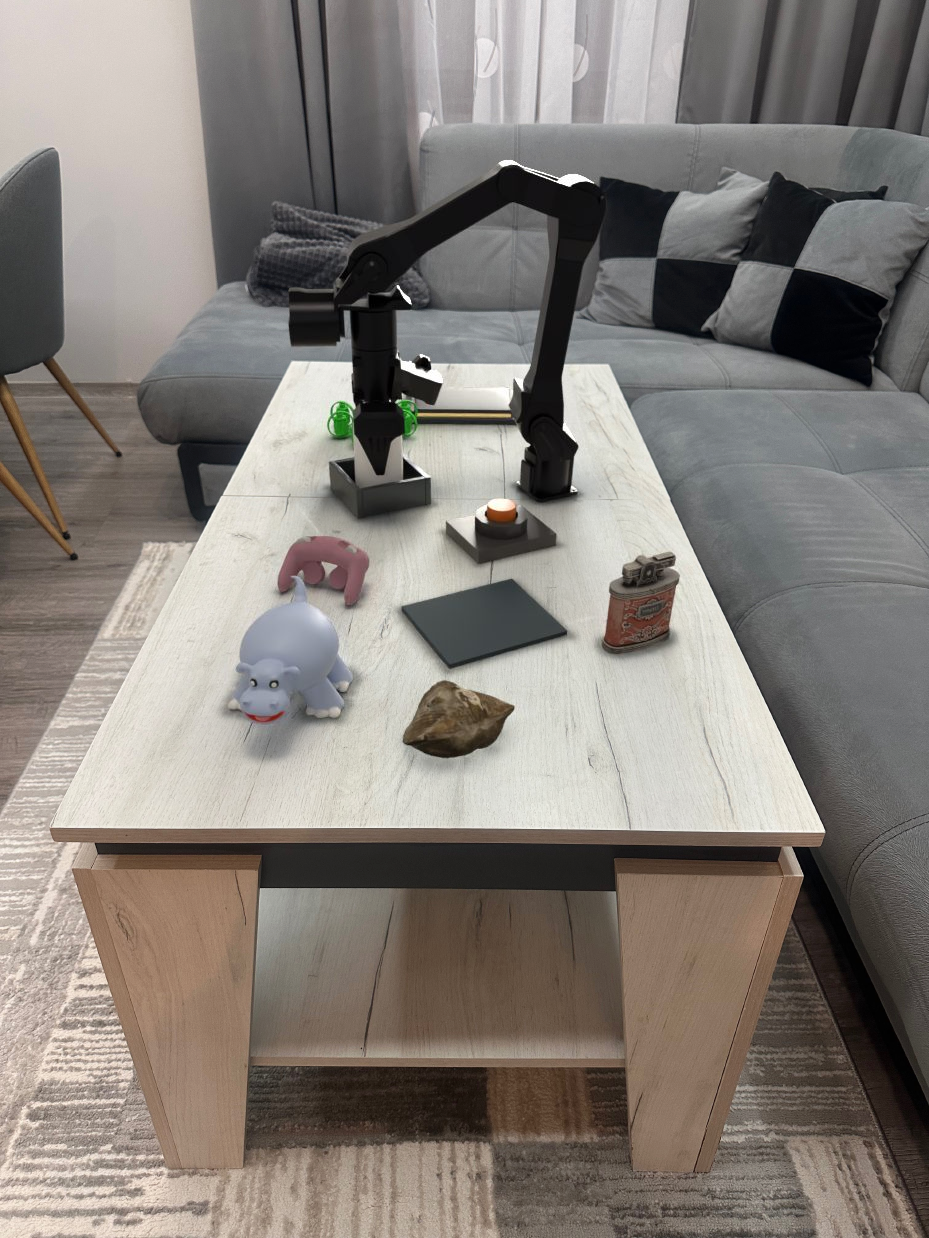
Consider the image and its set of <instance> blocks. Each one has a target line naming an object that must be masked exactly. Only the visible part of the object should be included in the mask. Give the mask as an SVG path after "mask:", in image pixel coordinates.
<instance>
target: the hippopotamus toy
mask: <svg viewBox="0 0 929 1238" xmlns="http://www.w3.org/2000/svg"><path fill="white" fill-rule="evenodd" d="M291 578H294V579H295V581H296V586H295V591H294V596H293V597H294V599H293V601H289V602H283V603H280V604H277V605H275V606H274V607H272V608H270V609H268V610H266V611H265V612H263V613H261V614H260V615H259V616H258V617H257V618H255V620H254V621H253V622H252V623H251V624H250V625H249V626H248V628H247V630H246V631H245V632H244V635H243V637H242V640H241V643H240V647H239V663H237V664H236V666H235V671H236V672H237V673H238V674H242V673H243V675H242V677H241V679H240V681H239V683H238V684H237V686H236V688H235V690H234V692H233V694H232V696H231V701H229V702H228V704H227V708H228V709H229V710H239V711H241V712H242V715H243V717H244V719H245V720H247V721H248V722H250V723H252V724H255V725H259V726H272V725H275V724H277V723H280V722H281V721H283V720H284V719H285V718H286V716H287V715H288V714H289V712H290V707H291V701H290V699H291V697H292V693H298V695H299V696H300V697H301V698H302V700H303V701H304V702H305V704H306V706H307V707H306V709H305V713H306V715H307V716H315V717H316V718H319V719H323V718H328V717H330V718H334V719H335V718H336V719H337V718H338V717H339V716H341V710H343V708H344V706H345V701H344V699H343V697H342V696H341V695H340V694H339V692H341V693H344V692H347V691H348V689H349V686H350V684H351V683H352V682H353V679H354V675H353V673H352V672H351V670H350V669H349V668H348V666H347V665H346V663H345V662H344V660H343V658H341V655H339V650H340V648H339V647H340V640H339V634H338V632H337V629H336V626H335V625H334V624H333V622H332V621H331V620H330V618H329V617H328V616H327V615H326V614H325V613H324V612H322V611H321V609H318V607H316V606H314V605H312V604H310V603H308V593H307V588H306V584H305V583H304V581H303V579H302V578H301V577H299V575H298V576H291ZM338 691H339V692H338Z"/></svg>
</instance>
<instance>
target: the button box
mask: <svg viewBox="0 0 929 1238" xmlns="http://www.w3.org/2000/svg"><path fill="white" fill-rule="evenodd" d="M445 533H446V534H447V536H449V537H450V538H451V539H452V540H453V541H454V542H455V543H456V544H457V545H458V546H459V548H461V549H462V550H463V551H465V553H466V554H467V555H468V556H469V557H471V559H472V560H473V561H474V562H475V563H477V564H479V565H481V564H483V563H488V562H492V561H497V560H500V559H501V560H502V559H505V558H509V557H513V556H517V555H522V554H526V553H531V552H534V551H539V550H542V549H546V548H551V547H555V546H556V545H557V536H558V533H557V532H555V531H554V530H553V529H552V528H550V527H549V526H548V525H547V524H545V522H543V521H542V520H541V519H540V518H538V517H537V516H536V515H534V514H533V513H531V512H530V511H529V510H528V509H526V508H525V507H524V506H523V505H522V504H518V505H516V518H515V520H512V521H508V522H496V521H493V520H490V519H488V518H487V504H483V505H481V506H480V507H478V508H477V509H476V510H475V512H474V514H472V515H467V516H462V517H459V518H453V519H448V520H445Z"/></svg>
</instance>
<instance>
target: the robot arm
mask: <svg viewBox="0 0 929 1238" xmlns="http://www.w3.org/2000/svg"><path fill="white" fill-rule="evenodd" d="M513 203H514V204H518V205H520V206H523V207H525V208H528V209H531V210H533V211H536V212H538V213H541V214H543V215H545V216H546V230H547V240H548V243H547V244H548V264H547V269H546V275H545V279H544V285H543V291H542V298H541V302H540V303H541V304H540V308H539V315H538V320H537V321H538V322H537V325H536V326H537V327H536V332H535V339H534V344H533V349H532V355H531V361H530V366H529V368H528V371H527V373H526V375H524V378H523V379H521V378H517V377H514V378H513V380H512V389H513V396H512V399H511V401H510V403H509V404H508V406H509V408H510V410H511V412H512V414H513V418H514V420H515V422H516V424H515V425H516V426H517V429H518V431H519V433H520V436H521V437H522V438H523V440H524V441H525V442H526V443H527V444H529V445H528V446H525V447H524V450H523V451H524V452H523V458H522V459H521V461H520V475H519V480H516V486H517V487H519V488H520V489H521V490H522V491H524V492H525V493H526V494H528V495H529V496H530V497H531V498H533V499H534V500H535V501H537V502H547V501H551V500H556V499H560V498H564V497H570V496H575V495H577V494H578V491H579V490H578V489H577V488H576V487H574V486H573V474H574V463H575V456H576V455H577V452H578V450H579V444H578V442H577V441H576V439H575V437H574V436H573V434H572V431H570V429H569V427H568V426H567V424H566V422H565V419H564V418H565V401H564V399H565V398H564V389H563V375H564V374H563V373H564V368H565V363H566V357H567V353H568V347H569V343H570V342H569V341H570V337H571V333H572V332H571V331H572V328H573V327H572V326H573V321H574V316H575V312H576V306H577V302H578V301H577V300H578V295H579V290H580V285H581V280H582V276H583V275H582V274H583V269H584V265H585V263H586V260H587V259H588V257H589V256H590V253H591V252H592V250H593V248H594V246H595V244H596V243H597V241H598V238H599V235H600V233H601V229H602V227H603V224H604V221H605V219H606V216H607V213H608V201H607V197H606V195H605V193H604V191H603V189H602V188H601V187H600V186H598V184H596V183H595V182H593V181H591V180H590V179H588V178H587V177H584V176H582V175H579V174H576V173H574V174H567V175H564V176H562V177H560V178H559V177H557V176H553V175H551V174H547V173H545V172H542V171H539V170H535V169H532V168H529V167H524V166H522V165H520V164H519V163H517V162H516V161H514V160H507V159H506V160H502V161H500V162H498V163H497V164H495V166H494V167H493V168H492V169H490V170H489V171H487V172H486V173H484V174H483V175H480V176H478V178H476V179H474V180H472V181H471V182H469V183H467V184H466V185H463V186H462V187H461V188H458V189H457V190H456V191H454V192H452V193H450V194H448V195H447V196H446V197H444V198H442V199H440V200H439V201H437V202H436V203H434V204H431V205H429V206H428V207H427V208H425V209H423V210H422V211H421V212H419V213H417V214H415V215H413V216H412V217H410V218H408V219H405V220H402V221H399V222H395V223H390V224H387V225H383V226H381V227H378V228H375V229H373V230H369V231H367V232H365V233H362V234H360V235H358V236H356V237H355V238H354V239H353V240H352V241H351V242H350V244H349V245H348V249H347V253H346V263H347V264H346V265H345V266H344V268H343V270H342V271H341V272H340V275H339V276H338V277H337V278H336V279H335V282H334V284H333V288H303V287H290V288H289V289H288V311H289V312H288V313H289V317H288V321H287V322H288V323H287V324H288V325H287V326H288V335H289V342H290V348H320V347H338V343H340V342H341V339H345V338H346V325H345V324H346V322H345V311H346V312H349V326H350V327H349V328H350V345H351V362H352V363H351V364H352V365H351V366H352V373H351V374H350V377H351V378H350V379H351V394H352V401H353V404H354V406H356V407H355V408H353V409H354V410H353V414H352V417H353V422H354V435H355V436H356V437H357V438H358V440H359V442H360V444H361V446H362V448H363V450H364V452H365V454H366V456H367V458H368V460H369V462H370V464H371V466H372V468H373V470H374V472H375V474H376V475H384V474H385V469H386V465H387V460H388V455H389V450H390V446H391V442H392V441H393V440H394V439H395V438H397V437H400V436H401V435H402V434H404V433H405V418H404V413H403V409H402V408H401V407H400V406H399V405H400V404H399V405H398V404H397V401H402V400H403V395H404V396H405V397H406V396H409V397H412V398H415V399H418V400H421V401H424V402H425V403H426V404H428V405H435V404H436V401H437V398H438V395H439V393H440V390H441V387H443V384H444V380H443V377H442V374H441V373H440V372H438V369H432V361H431V359H430V357H429V356H426V355H424V354H418V355H417V356H416V357H415V358H414V359H412V360H407V361H405V360H402V359H401V357H400V350H399V349H398V324H397V323H398V321H397V316H398V315H397V311H410V310H412V308H413V305H412V301H411V298H410V297H409V296H408V295H407V294H405V293H404V292H403V290H402V289H401V288H400V286H399V285H397V284H396V285H395V286H394V287H393V289H392V290H391V291H389V292H384V291H386V290H388V289H389V288H391V286H393V285H394V284H395V283H396V282H397V281H398V280H399V279H401V278H402V277H403V276H404V275H405V274H406V273H407V272H408V271H410V269H411V268H412V267H413V266H414V265H415V264H416V263H417V262H419V260H420V259H421V258H422V257H423V256H424V255H426V254H427V253H428V252H430V251H431V250H433V249H435V248H436V247H438V246H441V245H442V244H444V243H445V242H447V241H448V240H450V239H452V238H453V237H456V236H457V235H459V234H461V233H462V232H464V231H465V230H467V229H469V228H471V227H472V226H474V225H476V224H477V223H479V222H481V221H483V220H484V219H486V218H488V217H489V216H491V215H493V214H495V213H496V212H498V211H500V210H501V209H503V208H505V207H506V206H508V205H510V204H513ZM366 295H367V298H363V297H365V296H366Z"/></svg>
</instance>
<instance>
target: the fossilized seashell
mask: <svg viewBox="0 0 929 1238" xmlns="http://www.w3.org/2000/svg"><path fill="white" fill-rule="evenodd" d="M515 707H516V706H515V705H514V704H510V703H509V702H507V701H504V700H502V699H500V698H498V697H495V696H493V695H490V694H487V693H483V692H480V691H476V690H471V689H467V688H463V687H461V686H460V685H458V684H457V683H455V682H453V681H450V680H445V679H444V680H443V679H442V680H440V681H437V682H436V683H435V684H433V685H431V686H430V688H429V689H428V690H427V691H426V692H425V693H423V696H422V697H421V699H420V701H419V702H418V705H417V709H416V711H415V714H414V715H413V718H412V720H411V722H410V723H409V724H408V726H407V727H406V728H405V730H404V733H403V734H402V744H404V745H405V746H410V747H412V748H414V749H415V750H417V751H419V752H421V753H422V754H425V755H427V756H431V757H435V758H439V759H440V758H441V759H454V758H458V757H459V758H460V757H465V756H467V755H470V754H472V753H474V752H475V751H477V750H484V749H487V748H489V747H490V746H491V745H493V744H494V743H495V742H496V741H497V740H498V738H499V737H500V735H501V734H502V731H503V728H504V726H505V723H506V720H507V719H508V717H509V716H511V714H512V713H514V711H515Z"/></svg>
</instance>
